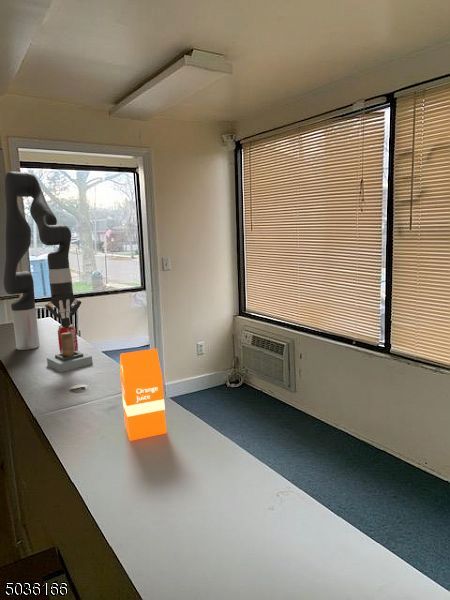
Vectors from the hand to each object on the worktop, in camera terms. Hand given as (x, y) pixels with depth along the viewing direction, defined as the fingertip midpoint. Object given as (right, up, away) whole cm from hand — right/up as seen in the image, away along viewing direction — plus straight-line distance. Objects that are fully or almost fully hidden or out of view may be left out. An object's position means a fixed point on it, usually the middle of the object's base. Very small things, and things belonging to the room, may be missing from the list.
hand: (66, 327), depth 158 cm
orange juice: (+39, -22, -53) cm, 69 cm away
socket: (+1, -14, +2) cm, 14 cm away
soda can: (-5, -12, +17) cm, 21 cm away
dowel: (+1, -14, +2) cm, 14 cm away
